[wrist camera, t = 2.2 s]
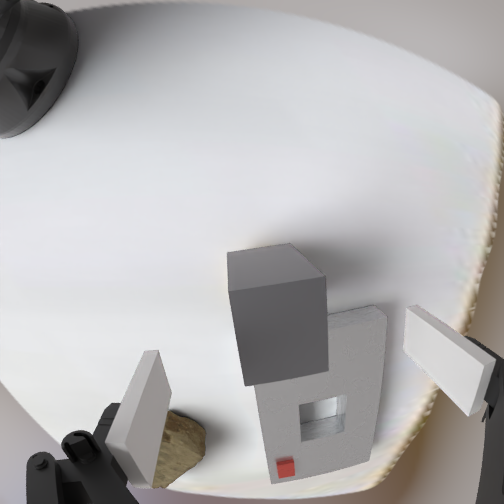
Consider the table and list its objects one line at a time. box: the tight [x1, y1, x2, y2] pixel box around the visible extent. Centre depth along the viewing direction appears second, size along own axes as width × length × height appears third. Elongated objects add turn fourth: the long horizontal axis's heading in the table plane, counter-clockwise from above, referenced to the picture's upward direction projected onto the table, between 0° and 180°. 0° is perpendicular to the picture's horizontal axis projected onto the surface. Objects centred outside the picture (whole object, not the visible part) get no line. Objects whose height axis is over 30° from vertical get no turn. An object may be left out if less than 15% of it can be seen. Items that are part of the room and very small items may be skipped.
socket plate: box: [254, 305, 387, 484], centre depth 29 cm, size 22×13×4 cm, turn 7°
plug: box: [227, 243, 329, 386], centre depth 22 cm, size 6×5×12 cm
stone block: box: [152, 411, 206, 488], centre depth 29 cm, size 6×12×5 cm, turn 144°
